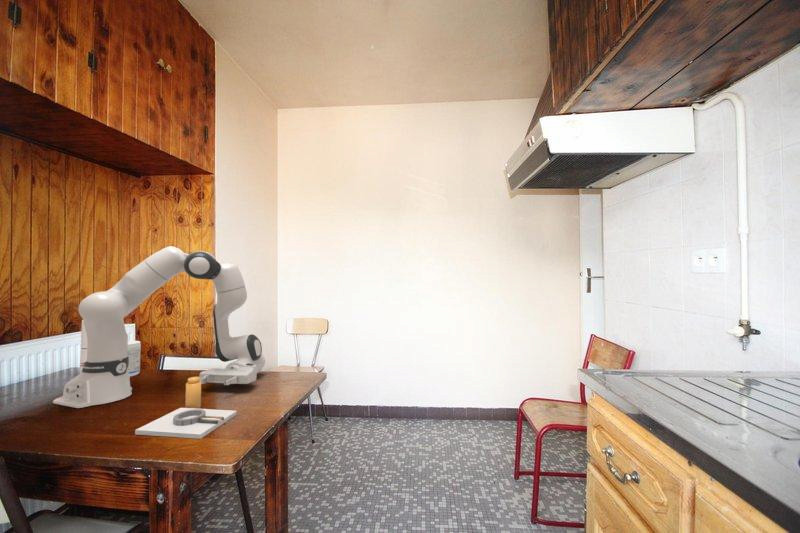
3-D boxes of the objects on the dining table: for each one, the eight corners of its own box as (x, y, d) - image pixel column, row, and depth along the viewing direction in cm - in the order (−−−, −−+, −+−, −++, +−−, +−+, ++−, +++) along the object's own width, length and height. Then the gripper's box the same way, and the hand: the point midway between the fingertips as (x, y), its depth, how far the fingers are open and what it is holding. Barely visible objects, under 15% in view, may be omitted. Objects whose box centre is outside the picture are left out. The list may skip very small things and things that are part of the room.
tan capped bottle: (182, 410, 108) (182, 379, 108) (192, 405, 112) (192, 375, 112) (194, 411, 107) (194, 380, 107) (203, 405, 111) (204, 376, 112)
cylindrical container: (87, 378, 142) (90, 320, 143) (75, 377, 144) (77, 320, 145) (105, 373, 149) (107, 318, 150) (93, 372, 151) (95, 318, 152)
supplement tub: (111, 375, 147) (113, 342, 148) (138, 371, 153) (139, 339, 154) (112, 380, 140) (114, 345, 140) (140, 375, 146) (141, 342, 147)
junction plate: (135, 434, 91) (135, 424, 91) (180, 411, 107) (180, 402, 107) (200, 438, 88) (200, 428, 89) (237, 414, 104) (237, 406, 104)
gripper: (213, 363, 135) (187, 372, 121) (260, 365, 132) (239, 374, 118) (213, 378, 134) (187, 389, 121) (259, 380, 132) (238, 392, 118)
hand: (213, 382), depth 119 cm, fingers open, 8 cm apart
